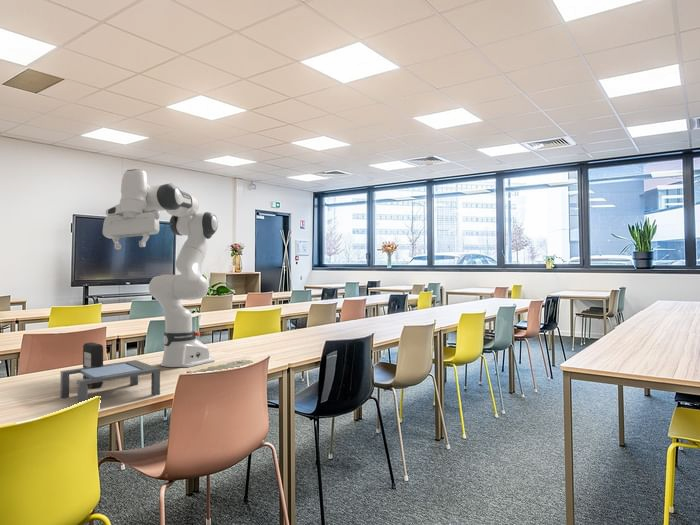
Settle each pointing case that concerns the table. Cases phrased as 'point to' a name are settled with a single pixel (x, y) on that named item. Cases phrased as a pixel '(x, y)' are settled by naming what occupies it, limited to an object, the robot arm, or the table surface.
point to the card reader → (92, 359)
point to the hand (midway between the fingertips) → (129, 247)
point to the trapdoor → (108, 370)
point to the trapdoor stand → (111, 378)
